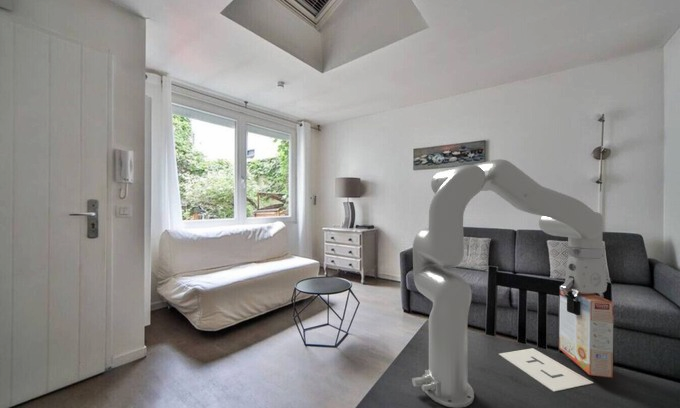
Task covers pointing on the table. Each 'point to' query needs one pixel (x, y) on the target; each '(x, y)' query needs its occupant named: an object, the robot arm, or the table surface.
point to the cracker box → (588, 334)
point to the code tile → (545, 369)
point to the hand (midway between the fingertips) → (584, 311)
